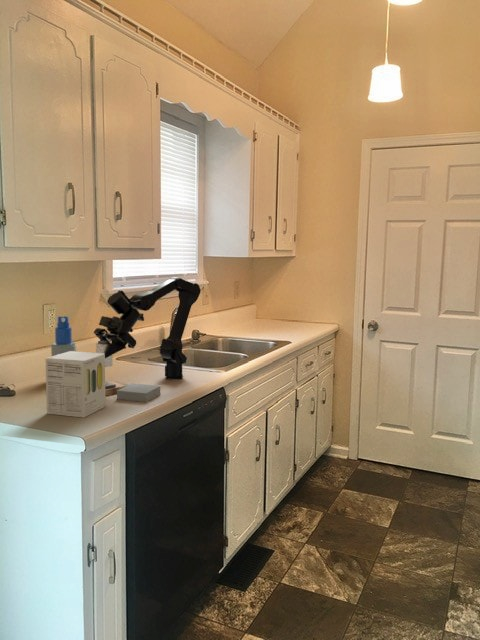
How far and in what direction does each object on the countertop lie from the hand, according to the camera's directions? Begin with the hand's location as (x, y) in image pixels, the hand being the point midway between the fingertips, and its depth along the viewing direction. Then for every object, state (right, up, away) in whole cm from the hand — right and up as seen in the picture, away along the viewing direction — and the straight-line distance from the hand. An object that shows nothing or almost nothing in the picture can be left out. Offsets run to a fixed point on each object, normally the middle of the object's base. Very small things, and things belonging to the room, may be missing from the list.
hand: (100, 356), depth 187 cm
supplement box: (-2, -16, -19) cm, 25 cm away
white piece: (+1, -3, +1) cm, 4 cm away
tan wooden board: (+2, -13, +4) cm, 14 cm away
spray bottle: (-19, -11, +19) cm, 29 cm away
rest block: (+14, -14, -2) cm, 20 cm away
